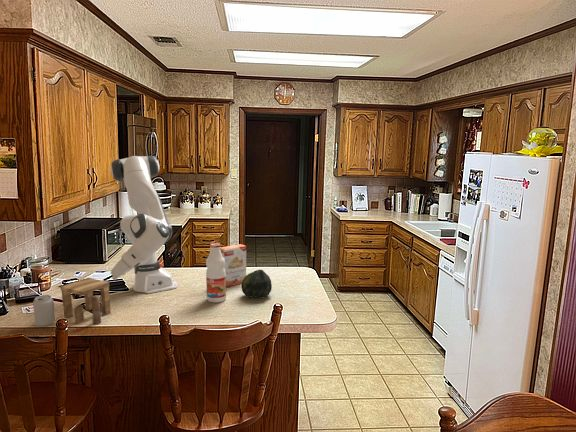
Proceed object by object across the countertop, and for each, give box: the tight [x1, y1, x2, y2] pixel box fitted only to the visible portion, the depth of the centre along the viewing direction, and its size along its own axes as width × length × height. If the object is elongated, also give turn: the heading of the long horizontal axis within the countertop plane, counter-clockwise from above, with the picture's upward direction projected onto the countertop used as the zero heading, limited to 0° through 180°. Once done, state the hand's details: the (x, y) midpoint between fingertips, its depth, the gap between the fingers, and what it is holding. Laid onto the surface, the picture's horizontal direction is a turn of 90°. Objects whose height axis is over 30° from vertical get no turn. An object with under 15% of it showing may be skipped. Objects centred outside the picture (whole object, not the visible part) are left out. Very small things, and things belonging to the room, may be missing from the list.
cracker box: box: [220, 243, 247, 288], centre depth 238 cm, size 14×6×21 cm, turn 129°
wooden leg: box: [91, 294, 104, 325], centre depth 190 cm, size 10×3×12 cm, turn 13°
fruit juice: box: [205, 242, 227, 304], centre depth 214 cm, size 9×9×28 cm
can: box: [32, 294, 56, 328], centre depth 186 cm, size 8×8×12 cm
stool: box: [60, 277, 112, 325], centre depth 194 cm, size 14×16×14 cm
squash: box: [241, 269, 273, 299], centre depth 219 cm, size 14×15×15 cm
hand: (117, 276), depth 183 cm, fingers open, 5 cm apart
